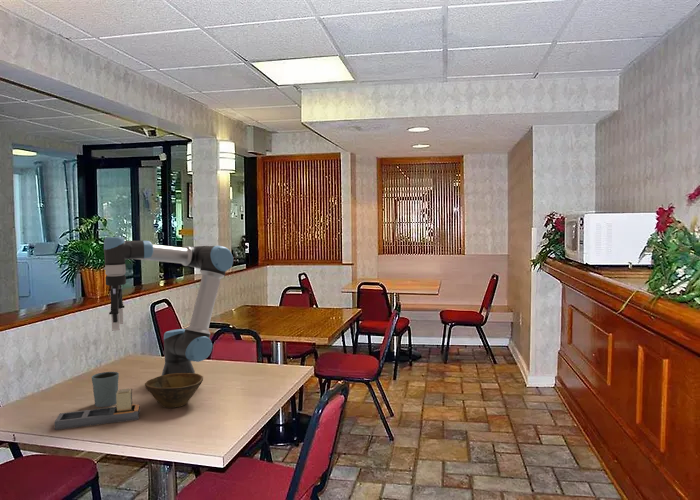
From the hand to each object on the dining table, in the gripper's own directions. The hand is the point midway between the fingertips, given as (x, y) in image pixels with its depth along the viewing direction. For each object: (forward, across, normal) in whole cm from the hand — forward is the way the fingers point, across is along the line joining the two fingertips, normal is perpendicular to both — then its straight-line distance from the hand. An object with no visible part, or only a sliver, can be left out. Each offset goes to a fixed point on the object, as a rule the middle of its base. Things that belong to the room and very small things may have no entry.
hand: (118, 327), depth 216 cm
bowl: (+32, +8, +21) cm, 39 cm away
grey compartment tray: (+32, +17, -6) cm, 36 cm away
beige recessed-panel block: (+32, +17, +3) cm, 36 cm away
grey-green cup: (+32, -3, -6) cm, 33 cm away
